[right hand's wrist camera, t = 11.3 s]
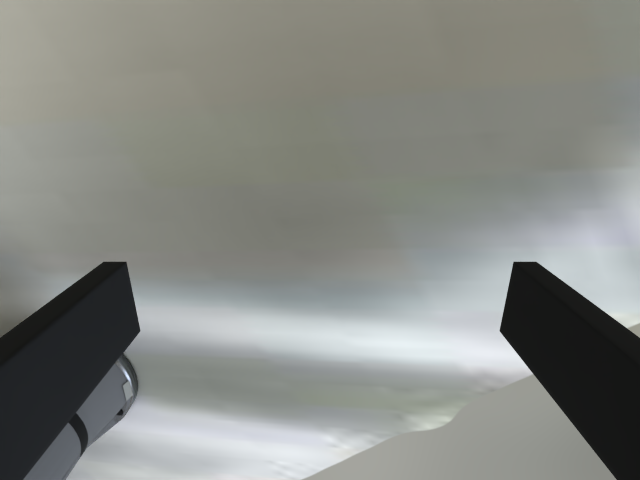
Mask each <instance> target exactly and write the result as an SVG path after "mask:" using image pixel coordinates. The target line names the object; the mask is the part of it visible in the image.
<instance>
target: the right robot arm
mask: <svg viewBox="0 0 640 480" xmlns="http://www.w3.org/2000/svg"><path fill="white" fill-rule="evenodd" d="M139 332H140V327H139V322H138V317H137V312H136V307H135V302H134V297H133V292H132V288H131V283H130V278H129V273H128V268H127V263H126V262H103V263H102V264H100V265H99V266H97V267H96V268H95V269H93V270H92V271H91V272H89V273H88V274H87V275H85V276H84V277H82V278H81V279H80V280H78V281H77V282H76V283H74V284H73V285H72V286H70V287H69V288H68V289H66V290H65V291H63V292H62V293H61V294H59V295H58V296H57V297H55V298H54V299H53V300H51V301H50V302H48V303H47V304H46V305H44V306H43V307H42V308H40V309H39V310H38V311H36V312H35V313H33V314H32V315H31V316H29V317H28V318H27V319H25V320H24V321H23V322H21V323H20V324H19V325H17V326H16V327H14V328H13V329H12V330H10V331H9V332H8V333H6V334H5V335H4V336H2V337H1V338H0V480H66V478H67V477H68V475H69V474H70V472H71V471H72V469H73V468H74V466H75V465H76V463H77V461H78V460H79V458H80V457H81V456H82V454H83V453H84V451H85V450H86V448H87V447H88V446H90V445H91V444H92V443H93V442H95V441H96V440H97V439H98V438H99V437H101V436H102V435H103V434H104V433H105V432H107V431H108V430H109V429H110V428H112V427H113V426H114V425H115V424H116V423H118V422H119V421H120V420H121V419H122V418H123V417H124V416H125V415H126V413H127V412H128V410H129V409H130V407H131V405H132V404H133V402H134V400H135V398H136V395H137V389H138V384H137V378H136V375H135V372H134V370H133V368H132V366H131V364H130V363H129V361H128V360H127V359H126V358H125V357H124V356H123V352H124V351H125V350H126V349H127V347H128V346H129V345H130V343H131V342H132V341H133V340H134V338H135V337H136V336H137V335H138V333H139ZM500 332H501V333H502V335H503V336H504V337H505V338H506V340H507V341H508V342H509V343H510V345H511V346H512V347H513V349H514V350H515V351H516V352H517V354H518V355H519V356H520V357H521V359H522V360H523V361H524V362H525V364H526V365H527V366H528V368H529V369H530V370H531V371H532V373H533V374H534V375H535V376H536V378H537V379H538V380H539V382H540V383H541V384H542V385H543V387H544V388H545V389H546V390H547V392H548V393H549V394H550V395H551V397H552V398H553V399H554V401H555V402H556V403H557V404H558V406H559V407H560V408H561V409H562V411H563V412H564V413H565V414H566V416H567V417H568V418H569V420H570V421H571V422H572V423H573V425H574V426H575V427H576V428H577V430H578V431H579V432H580V434H581V435H582V436H583V437H584V439H585V440H586V441H587V442H588V444H589V445H590V446H591V447H592V449H593V450H594V451H595V453H596V454H597V455H598V456H599V458H600V459H601V460H602V461H603V463H604V464H605V465H606V467H607V468H608V469H609V470H610V472H611V473H612V474H613V475H614V477H615V478H616V479H617V480H640V338H639V337H638V336H636V335H635V334H634V333H632V332H631V331H630V330H628V329H627V328H626V327H624V326H623V325H621V324H620V323H619V322H617V321H616V320H615V319H613V318H612V317H611V316H609V315H608V314H607V313H605V312H604V311H602V310H601V309H600V308H598V307H597V306H596V305H594V304H593V303H592V302H590V301H589V300H587V299H586V298H585V297H583V296H582V295H581V294H579V293H578V292H577V291H575V290H574V289H572V288H571V287H570V286H568V285H567V284H566V283H564V282H563V281H562V280H560V279H559V278H558V277H556V276H555V275H553V274H552V273H551V272H549V271H548V270H547V269H545V268H544V267H543V266H541V265H540V264H538V263H537V262H514V263H513V268H512V273H511V278H510V283H509V288H508V292H507V297H506V302H505V307H504V312H503V317H502V322H501V327H500Z"/></svg>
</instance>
